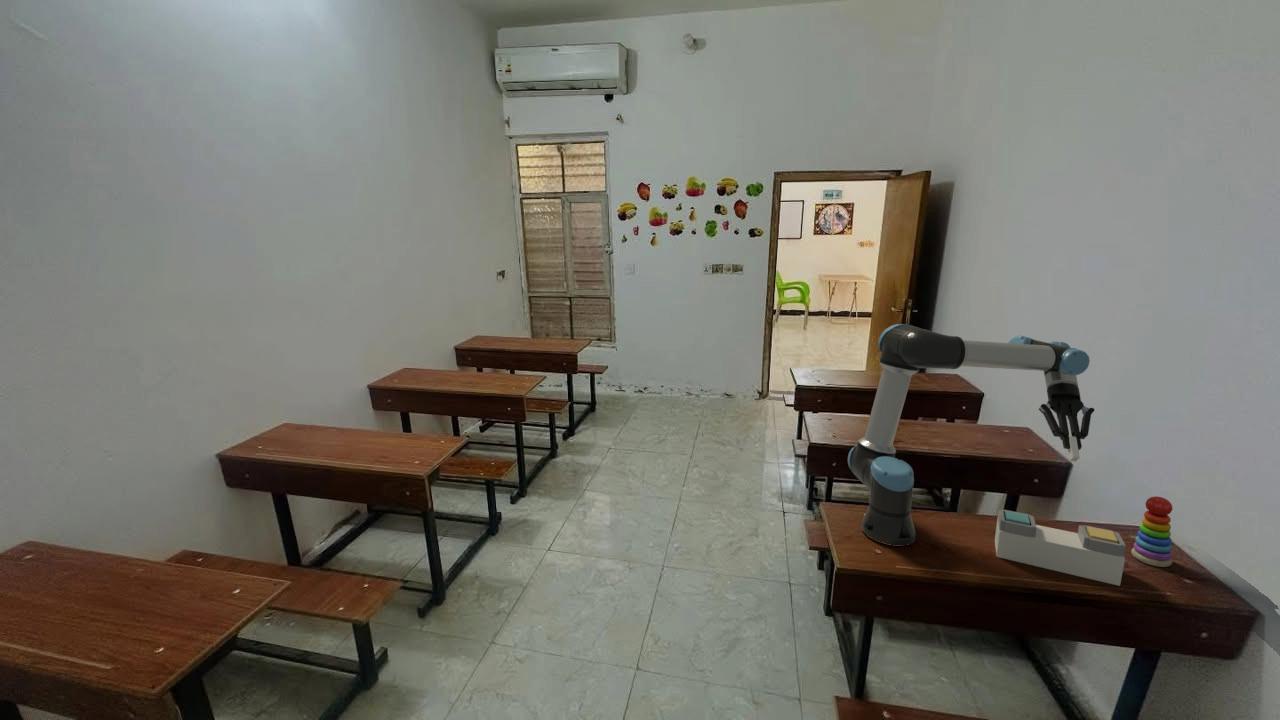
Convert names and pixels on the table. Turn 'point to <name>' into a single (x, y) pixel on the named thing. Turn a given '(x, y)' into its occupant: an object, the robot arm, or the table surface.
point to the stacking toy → (1155, 534)
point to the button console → (1060, 550)
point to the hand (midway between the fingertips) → (1074, 459)
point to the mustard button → (1101, 534)
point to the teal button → (1017, 517)
